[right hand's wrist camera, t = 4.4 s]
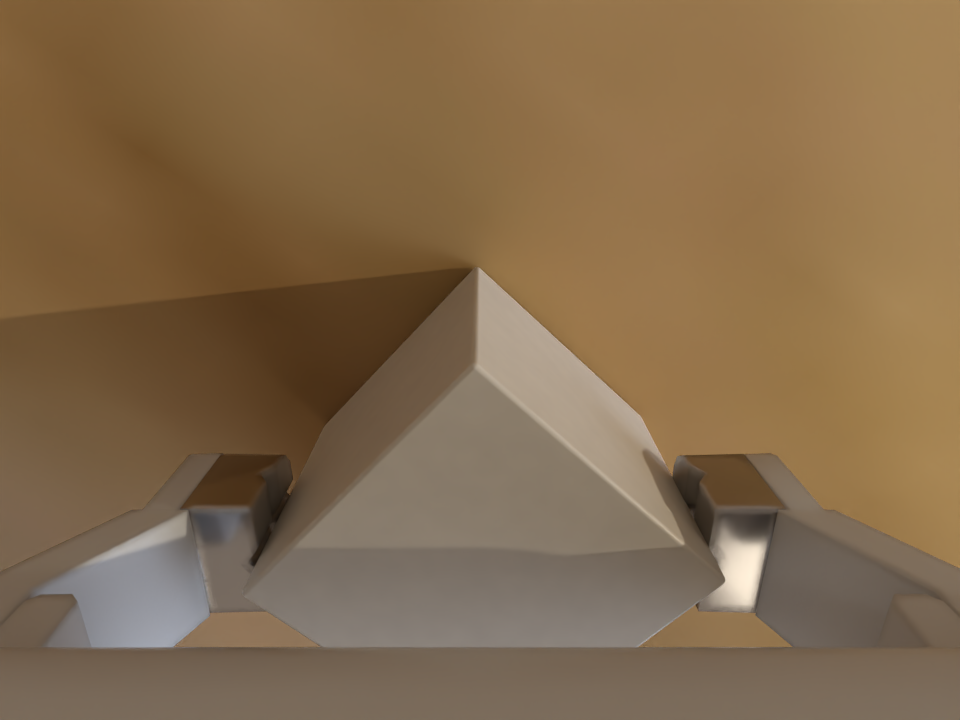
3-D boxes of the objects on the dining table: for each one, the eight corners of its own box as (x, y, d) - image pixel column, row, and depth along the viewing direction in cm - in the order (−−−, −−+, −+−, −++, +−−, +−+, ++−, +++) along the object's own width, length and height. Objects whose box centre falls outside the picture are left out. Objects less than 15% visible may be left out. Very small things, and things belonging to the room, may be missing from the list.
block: (641, 416, 12) (729, 582, 8) (486, 551, 14) (489, 758, 9) (477, 264, 11) (474, 361, 7) (323, 426, 12) (238, 596, 8)
